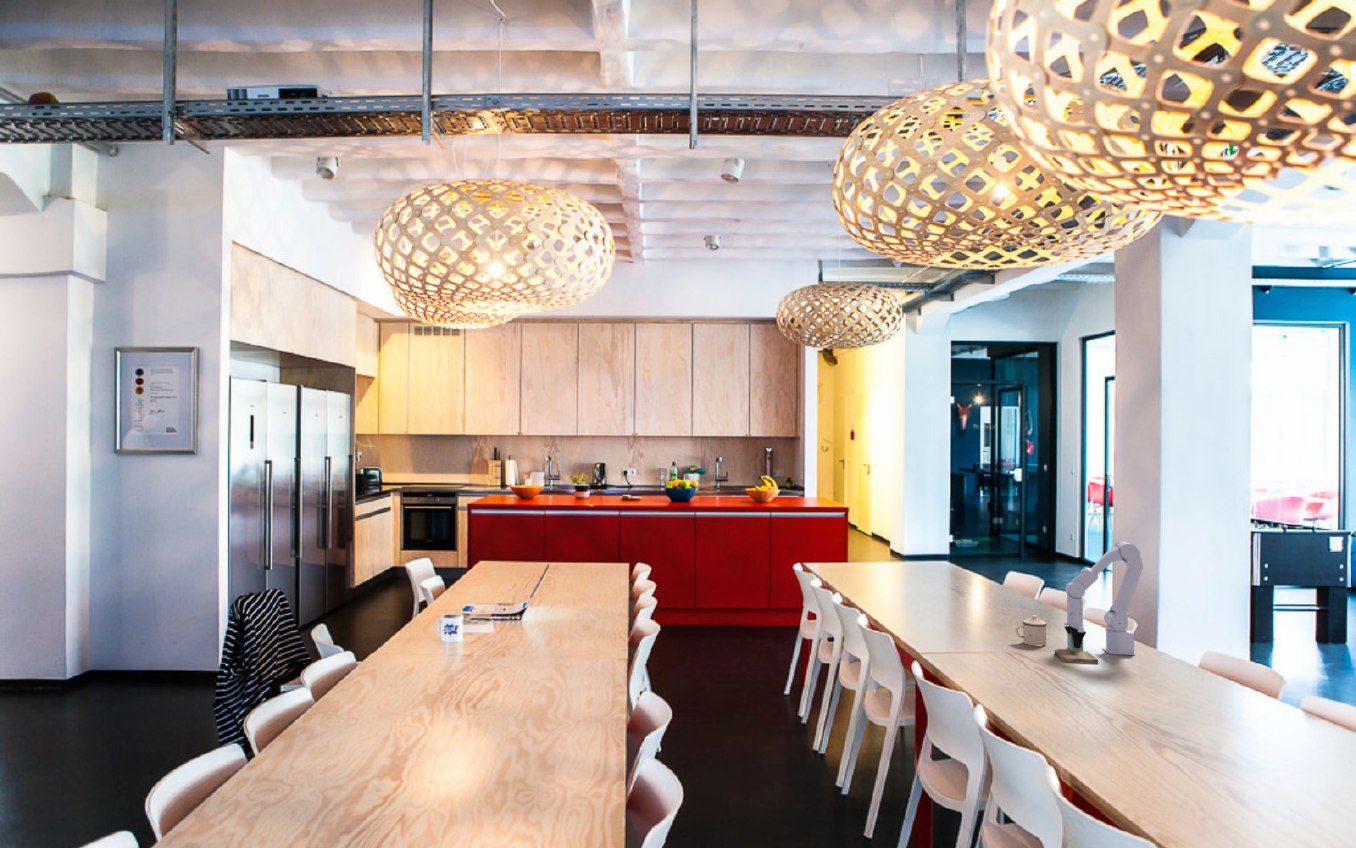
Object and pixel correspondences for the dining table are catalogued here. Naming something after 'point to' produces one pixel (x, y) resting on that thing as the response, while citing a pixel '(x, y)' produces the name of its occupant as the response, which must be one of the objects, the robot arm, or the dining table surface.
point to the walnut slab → (1076, 656)
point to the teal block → (1071, 645)
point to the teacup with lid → (1033, 631)
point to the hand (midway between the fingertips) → (1075, 646)
